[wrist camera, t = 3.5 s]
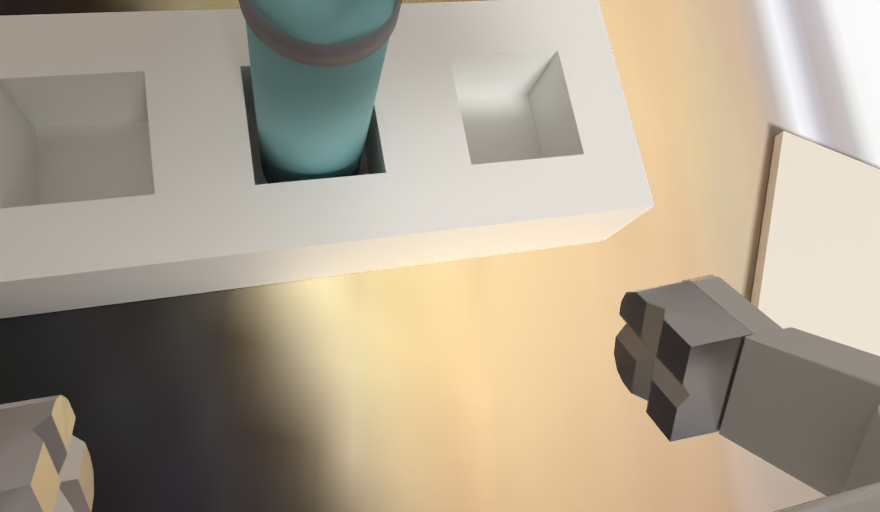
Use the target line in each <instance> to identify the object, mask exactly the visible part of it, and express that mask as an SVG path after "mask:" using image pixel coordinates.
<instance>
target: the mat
mask: <svg viewBox="0 0 880 512" xmlns="http://www.w3.org/2000/svg"><path fill="white" fill-rule="evenodd" d="M751 303H752V304H753V305H754V306H756V307H757V308H758V309H759V310H760V311H762V312H763V313H764V314H765V315H767V316H768V317H769V318H770V319H772V320H773V321H774V322H775V323H777V324H778V325H779V326H780V327H781V328H783V329H785V328H790V327H793V328H796V329H799V330H802V331H805V332H808V333H811V334H814V335H817V336H820V337H823V338H826V339H829V340H832V341H835V342H838V343H841V344H844V345H847V346H850V347H853V348H856V349H859V350H862V351H865V352H868V353H871V354H875V355H878V356H880V169H878V168H875V167H873V166H870V165H868V164H865V163H863V162H860V161H858V160H855V159H853V158H850V157H848V156H845V155H843V154H840V153H838V152H835V151H833V150H830V149H828V148H825V147H823V146H820V145H818V144H815V143H813V142H810V141H808V140H805V139H803V138H800V137H798V136H795V135H793V134H790V133H788V132H785V131H782V132H781V133H779V134H778V135H776V136H775V141H774V148H773V154H772V161H771V168H770V175H769V181H768V188H767V195H766V202H765V209H764V215H763V222H762V229H761V236H760V243H759V249H758V256H757V263H756V270H755V277H754V283H753V290H752V297H751Z"/></svg>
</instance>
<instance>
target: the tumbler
mask: <svg viewBox="0 0 880 512" xmlns="http://www.w3.org/2000/svg"><path fill="white" fill-rule="evenodd" d="M239 3H240V7H241V11H242V13H243V16H244V18H245V21H246V30H247V39H248V49H249V58H250V67H251V76H252V85H253V94H254V103H255V112H256V121H257V130H258V139H259V148H260V157H261V166H262V171H263V174H264V176H265V179H266V180H267V182H268V184H270V183H280V182H291V181H302V180H313V179H323V178H334V177H345V176H356V175H358V171H359V167H360V163H361V158H362V154H363V150H364V145H365V141H366V137H367V132H368V128H369V124H370V119H371V115H372V111H373V106H374V102H375V98H376V93H377V89H378V85H379V80H380V76H381V72H382V68H383V63H384V59H385V55H386V50H387V46H388V42H389V37H390V36H391V34H392V32H393V30H394V28H395V26H396V23H397V20H398V16H399V12H400V8H401V3H402V0H239Z"/></svg>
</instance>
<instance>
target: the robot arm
mask: <svg viewBox="0 0 880 512" xmlns="http://www.w3.org/2000/svg"><path fill="white" fill-rule="evenodd" d="M619 314H620V316H621V317H622V318H623V320H624V321H625V323H626V325H625V326H624V327H623V329H622V330H621V331H620V332H619V334H618V335H617V336H616V341H615V350H614V356H615V361H616V366H617V371H618V373H619V375H620V377H621V379H622V381H623V383H624V384H625V386H626V387H627V388H628V390H629V391H630V392H631V393H632V394H635V395H637V396H639V397H641V398H643V399H645V400H647V409H646V412H647V414H648V415H649V416H650V417H651V419H652V420H653V421H654V422H655V424H656V425H657V426H658V427H659V429H660V430H661V431H662V432H663V434H664V435H665V436H666V437H667V439H668V440H669V441H670V442H671V441H676V440H680V439H685V438H690V437H694V436H699V435H704V434H709V433H713V432H718V431H720V432H719V434H720V435H722V436H724V437H725V438H727V439H729V440H731V441H732V442H734V443H736V444H737V445H739V446H741V447H743V448H744V449H746V450H748V451H750V452H751V453H753V454H755V455H757V456H758V457H760V458H762V459H763V460H765V461H767V462H769V463H770V464H772V465H774V466H776V467H777V468H779V469H781V470H783V471H784V472H786V473H788V474H789V475H791V476H793V477H795V478H796V479H798V480H800V481H802V482H803V483H805V484H807V485H808V486H810V487H812V488H814V489H815V490H817V491H819V492H821V493H822V494H824V495H826V496H827V497H823V498H820V499H816V500H813V501H809V502H806V503H802V504H799V505H795V506H792V507H788V508H785V509H781V510H778V511H774V512H880V356H878V355H875V354H871V353H868V352H865V351H862V350H859V349H856V348H853V347H850V346H847V345H844V344H841V343H838V342H835V341H832V340H829V339H826V338H823V337H820V336H817V335H814V334H811V333H808V332H805V331H802V330H799V329H796V328H793V327H790V328H785V329H783V328H781V327H780V326H779V325H778V324H777V323H775V322H774V321H773V320H772V319H770V318H769V317H768V316H767V315H765V314H764V313H763V312H762V311H760V310H759V309H758V308H757V307H756V306H754V305H753V304H752V303H751V302H749V301H748V300H747V299H746V298H744V297H743V296H742V295H741V294H739V293H738V292H737V291H736V290H734V289H733V288H732V287H731V286H730V285H728V284H727V283H726V282H725V281H723V280H722V279H721V278H719V277H716V276H713V275H707V276H702V277H697V278H693V279H688V280H683V281H682V282H679V283H673V284H668V285H662V286H657V287H652V288H646V289H641V290H636V291H630V292H626V294H625V296H624V298H623V299H622V301H621V307H620V313H619ZM75 419H76V417H75V415H74V412H73V410H72V408H71V405H70V403H69V401H68V399H67V398H65V397H64V396H62V395H57V396H50V397H44V398H38V399H32V400H26V401H20V402H13V403H7V404H1V405H0V512H91V511H92V504H93V498H94V472H93V468H92V463H91V458H90V454H89V452H88V449H87V446H86V443H85V442H83V441H82V440H80V439H78V438H76V437H75V436H73V435H72V432H73V427H74V423H75Z"/></svg>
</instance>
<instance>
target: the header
mask: <svg viewBox="0 0 880 512" xmlns="http://www.w3.org/2000/svg"><path fill="white" fill-rule="evenodd" d="M654 206H655V205H654V201H653V198H652V194H651V190H650V187H649V183H648V179H647V176H646V172H645V168H644V165H643V161H642V157H641V154H640V150H639V147H638V143H637V139H636V136H635V132H634V128H633V125H632V121H631V117H630V114H629V110H628V106H627V103H626V99H625V95H624V92H623V88H622V84H621V81H620V77H619V73H618V70H617V66H616V63H615V59H614V55H613V52H612V48H611V44H610V41H609V37H608V33H607V30H606V26H605V22H604V19H603V15H602V11H601V8H600V4H599V0H489V1H457V2H425V3H401V8H400V12H399V16H398V20H397V23H396V26H395V28H394V30H393V32H392V34H391V36H390V37H389V42H388V46H387V50H386V55H385V59H384V63H383V68H382V72H381V76H380V80H379V85H378V89H377V93H376V98H375V102H374V106H373V111H372V115H371V119H370V124H369V128H368V132H367V137H366V141H365V145H364V150H363V154H362V158H361V163H360V167H359V171H358V175H356V176H345V177H334V178H323V179H313V180H302V181H291V182H280V183H270V184H268V182H267V180H266V179H265V176H264V174H263V171H262V166H261V157H260V148H259V139H258V130H257V121H256V112H255V103H254V94H253V85H252V76H251V67H250V58H249V49H248V39H247V30H246V21H245V18H244V16H243V13H242V11H241V8H232V9H200V10H168V11H136V12H104V13H72V14H40V15H8V16H0V319H2V318H9V317H17V316H25V315H33V314H41V313H48V312H56V311H64V310H72V309H80V308H87V307H95V306H103V305H111V304H118V303H126V302H134V301H142V300H150V299H157V298H165V297H173V296H181V295H189V294H196V293H204V292H212V291H220V290H228V289H235V288H243V287H251V286H259V285H267V284H274V283H282V282H290V281H298V280H305V279H313V278H321V277H329V276H337V275H344V274H352V273H360V272H368V271H376V270H383V269H391V268H399V267H407V266H415V265H422V264H430V263H438V262H446V261H453V260H461V259H469V258H477V257H485V256H492V255H500V254H508V253H516V252H524V251H531V250H539V249H547V248H555V247H563V246H570V245H578V244H586V243H594V242H602V241H604V240H605V239H607V238H608V237H610V236H611V235H613V234H614V233H616V232H617V231H619V230H620V229H622V228H623V227H624V226H626V225H627V224H629V223H630V222H632V221H633V220H635V219H636V218H638V217H639V216H641V215H642V214H643V213H645V212H646V211H648V210H649V209H651V208H652V207H654Z"/></svg>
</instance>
